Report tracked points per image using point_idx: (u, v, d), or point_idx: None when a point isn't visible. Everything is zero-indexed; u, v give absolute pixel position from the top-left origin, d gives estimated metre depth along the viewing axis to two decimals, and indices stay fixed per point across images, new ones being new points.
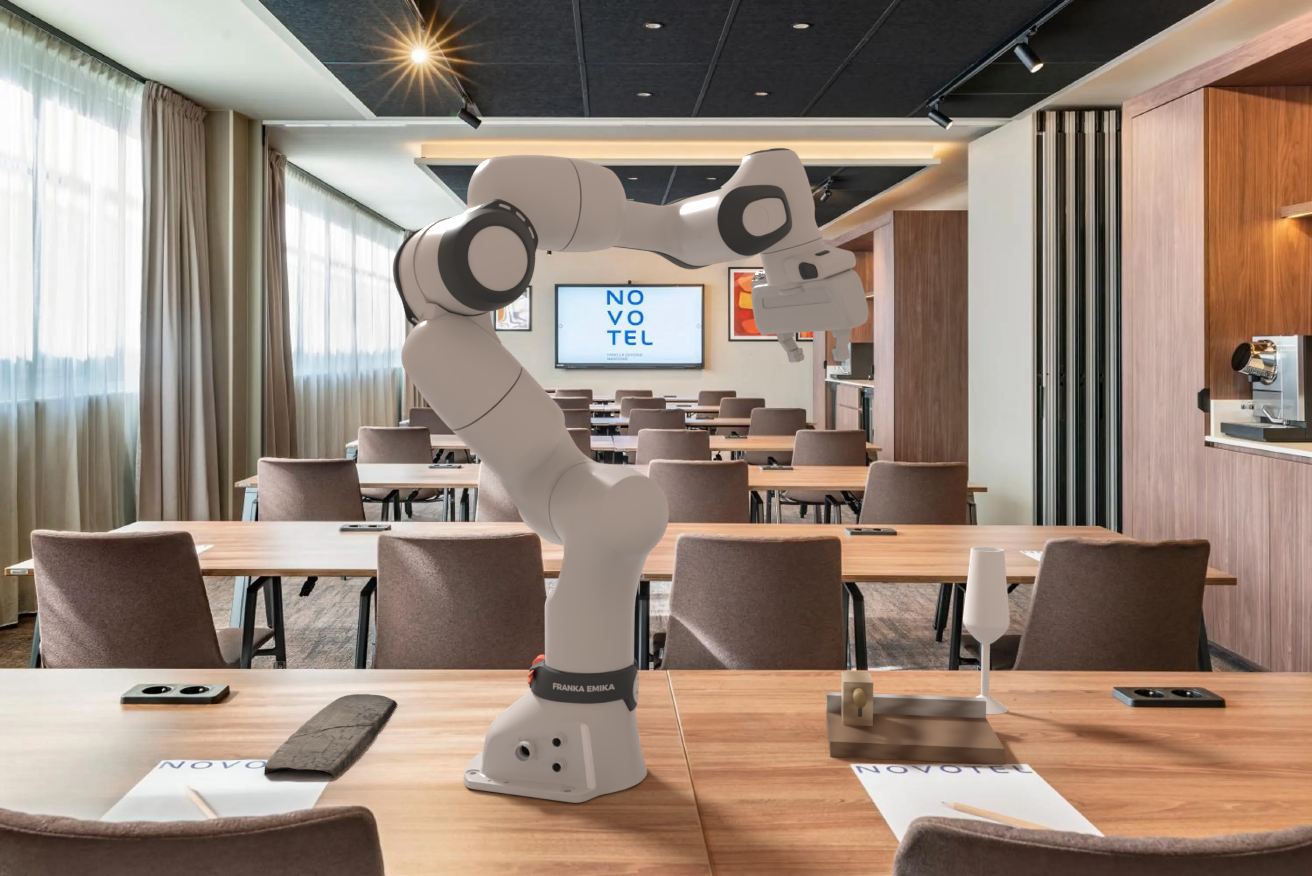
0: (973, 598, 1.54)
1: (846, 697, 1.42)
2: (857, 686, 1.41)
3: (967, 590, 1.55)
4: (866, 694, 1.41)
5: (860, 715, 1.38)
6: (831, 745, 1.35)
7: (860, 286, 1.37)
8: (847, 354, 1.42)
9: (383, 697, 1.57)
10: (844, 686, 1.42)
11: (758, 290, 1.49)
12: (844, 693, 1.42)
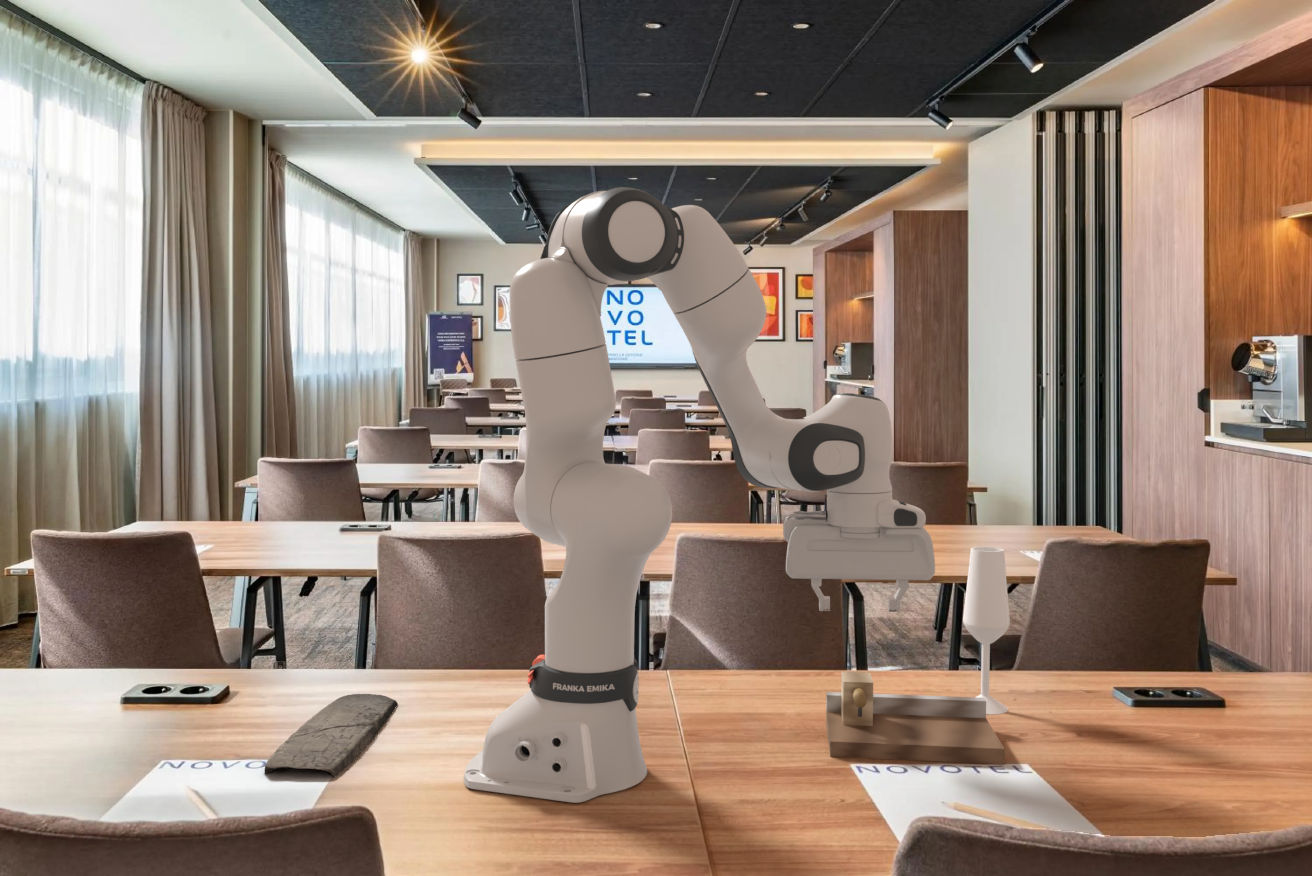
0: (973, 598, 1.54)
1: (846, 697, 1.42)
2: (857, 686, 1.41)
3: (967, 590, 1.55)
4: (866, 694, 1.41)
5: (860, 715, 1.38)
6: (831, 745, 1.35)
7: None
8: None
9: (383, 697, 1.57)
10: (844, 686, 1.42)
11: (807, 530, 1.42)
12: (844, 693, 1.42)
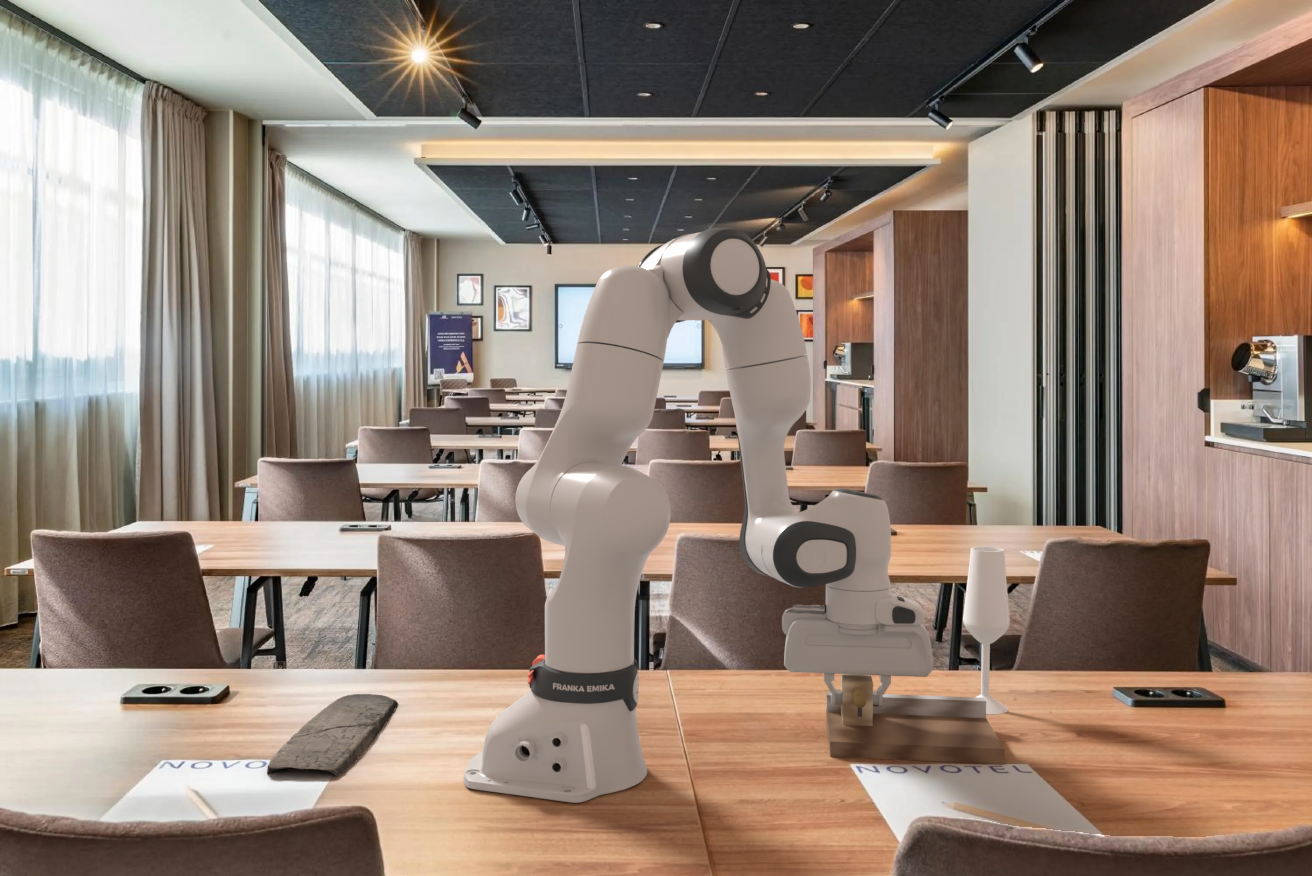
0: (973, 598, 1.54)
1: (846, 697, 1.42)
2: (857, 686, 1.41)
3: (967, 590, 1.55)
4: (866, 694, 1.41)
5: (860, 715, 1.38)
6: (831, 745, 1.35)
7: None
8: None
9: (384, 697, 1.57)
10: (844, 686, 1.42)
11: (805, 625, 1.43)
12: (844, 693, 1.42)
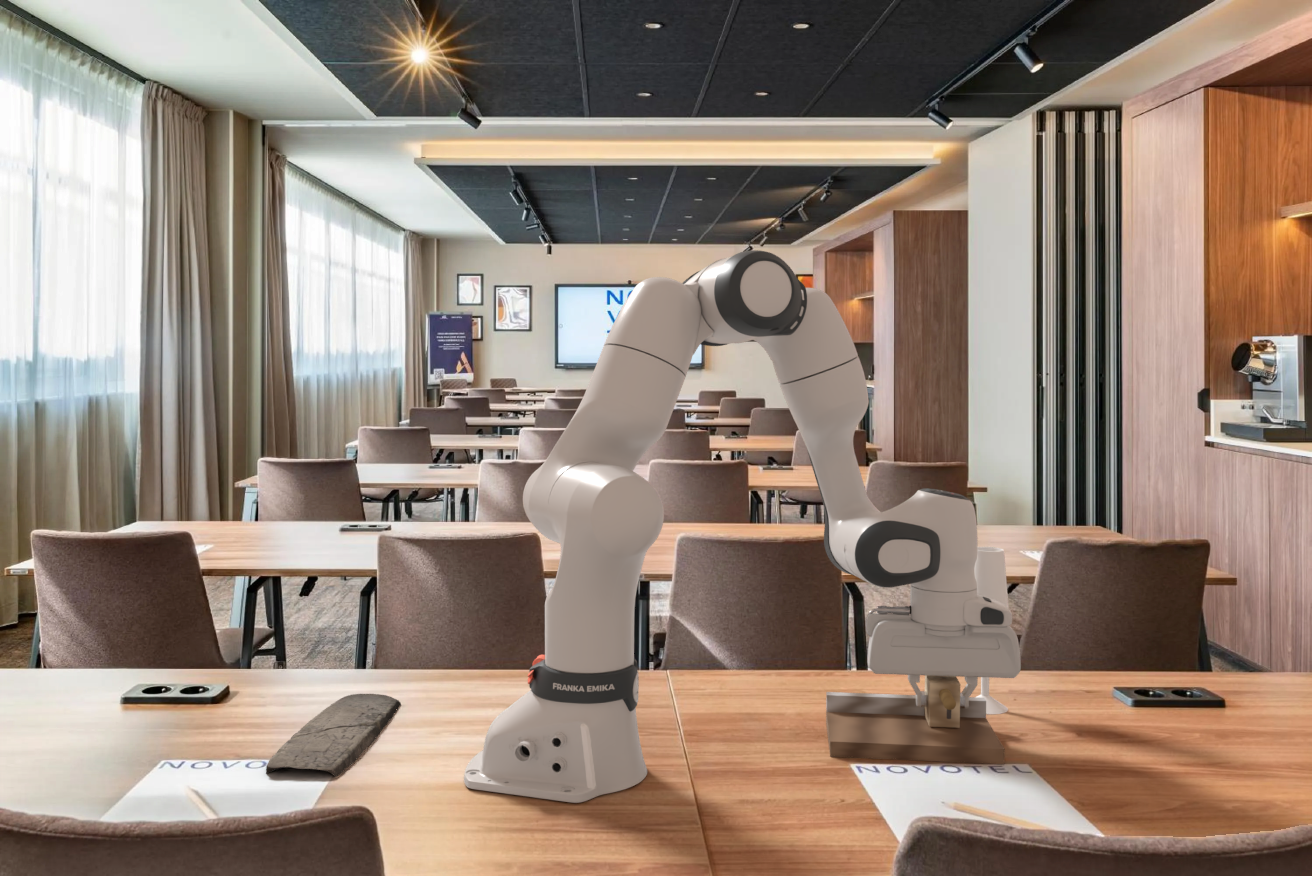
0: None
1: (932, 699, 1.40)
2: (944, 687, 1.40)
3: None
4: (953, 695, 1.40)
5: (949, 717, 1.36)
6: (831, 745, 1.35)
7: None
8: None
9: (387, 697, 1.57)
10: (931, 687, 1.40)
11: (891, 626, 1.41)
12: (931, 694, 1.40)
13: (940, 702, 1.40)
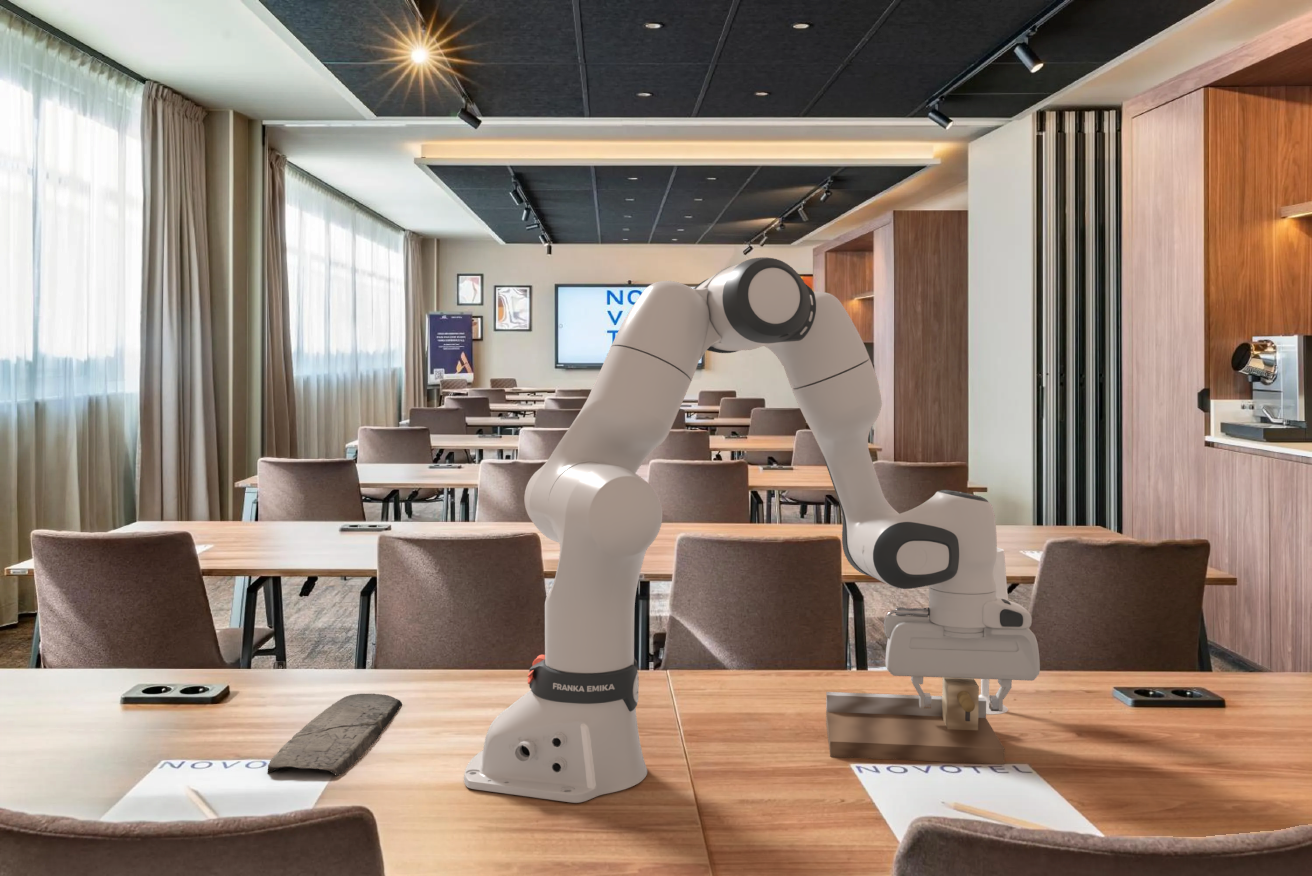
0: None
1: (951, 701, 1.40)
2: (962, 690, 1.40)
3: None
4: (971, 698, 1.40)
5: (968, 719, 1.36)
6: (831, 745, 1.35)
7: None
8: None
9: (388, 696, 1.57)
10: (949, 690, 1.40)
11: (909, 628, 1.41)
12: (949, 697, 1.40)
13: (958, 704, 1.40)
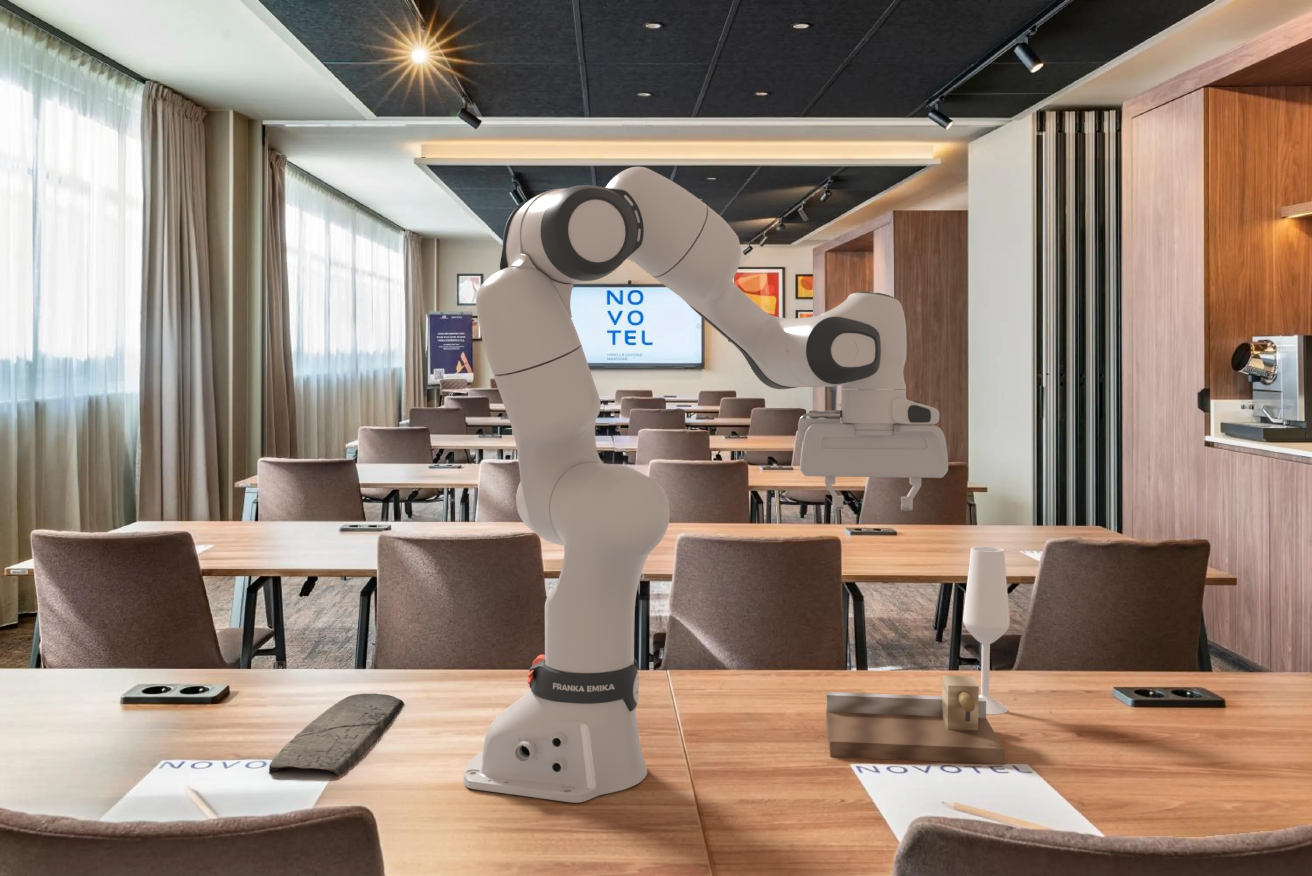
0: (973, 598, 1.54)
1: (951, 701, 1.40)
2: (962, 690, 1.40)
3: (967, 590, 1.55)
4: (971, 698, 1.40)
5: (968, 719, 1.36)
6: (831, 745, 1.35)
7: None
8: None
9: (390, 696, 1.57)
10: (949, 690, 1.40)
11: (821, 428, 1.44)
12: (949, 697, 1.40)
13: (958, 704, 1.40)
